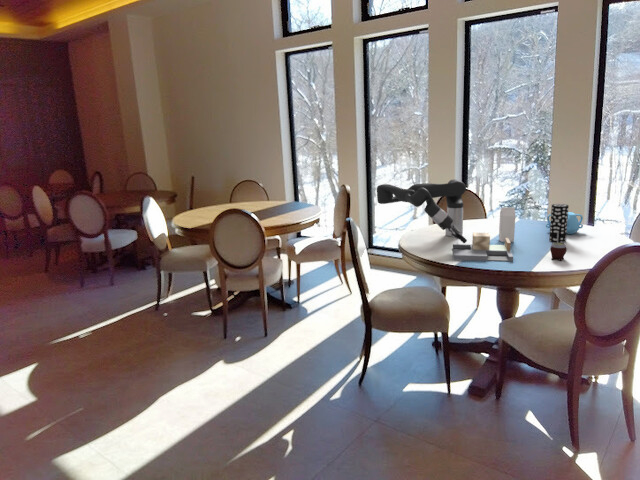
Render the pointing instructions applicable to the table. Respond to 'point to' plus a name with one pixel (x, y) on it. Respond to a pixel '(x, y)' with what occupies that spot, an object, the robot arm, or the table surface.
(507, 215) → the milk carton
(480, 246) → the beech block
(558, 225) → the white-spotted black cylinder
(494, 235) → the table surface
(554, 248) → the mate gourd
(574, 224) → the decorative pot
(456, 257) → the trap deck
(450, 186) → the robot arm
